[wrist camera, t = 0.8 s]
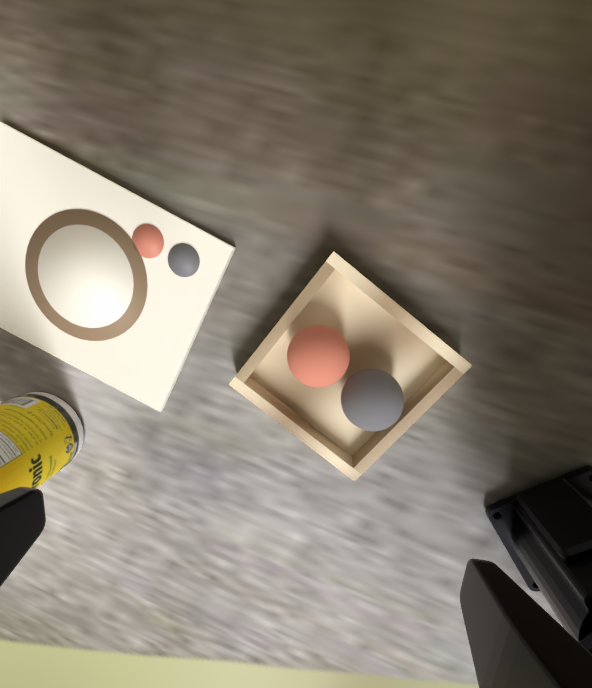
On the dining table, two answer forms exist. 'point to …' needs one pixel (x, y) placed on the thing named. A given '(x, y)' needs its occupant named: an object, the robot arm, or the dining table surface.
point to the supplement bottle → (36, 439)
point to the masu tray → (365, 353)
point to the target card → (100, 271)
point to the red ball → (318, 356)
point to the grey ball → (372, 399)
